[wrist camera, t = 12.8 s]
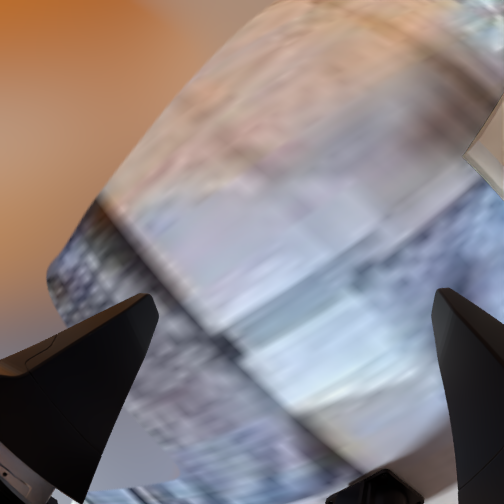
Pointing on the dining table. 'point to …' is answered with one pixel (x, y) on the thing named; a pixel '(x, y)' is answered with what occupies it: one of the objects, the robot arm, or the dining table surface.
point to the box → (490, 150)
